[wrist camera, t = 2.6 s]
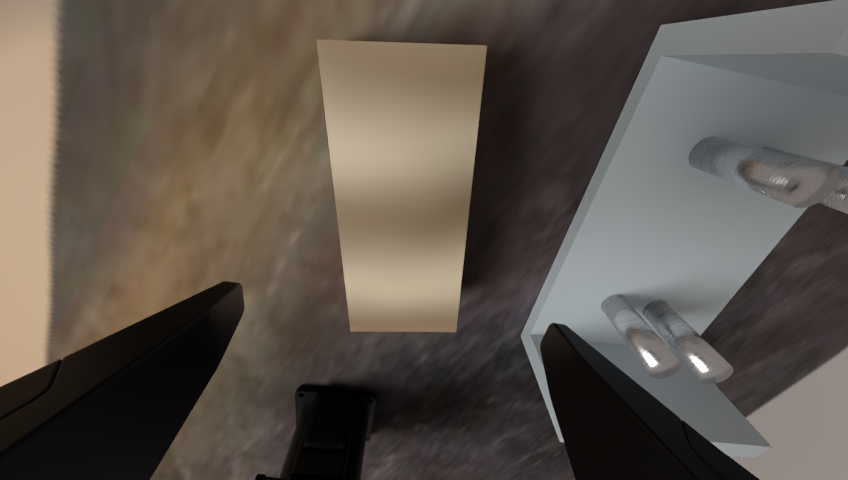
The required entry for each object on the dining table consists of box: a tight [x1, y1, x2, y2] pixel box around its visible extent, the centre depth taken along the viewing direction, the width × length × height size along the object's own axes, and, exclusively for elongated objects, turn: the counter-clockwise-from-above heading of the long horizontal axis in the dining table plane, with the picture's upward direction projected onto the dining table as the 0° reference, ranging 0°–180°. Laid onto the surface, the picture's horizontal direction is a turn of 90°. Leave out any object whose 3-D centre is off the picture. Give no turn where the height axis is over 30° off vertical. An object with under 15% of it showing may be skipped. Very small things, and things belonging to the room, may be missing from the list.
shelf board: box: [317, 40, 487, 332], centre depth 16 cm, size 14×6×4 cm, turn 178°
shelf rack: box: [521, 0, 848, 458], centre depth 16 cm, size 19×12×8 cm, turn 170°
